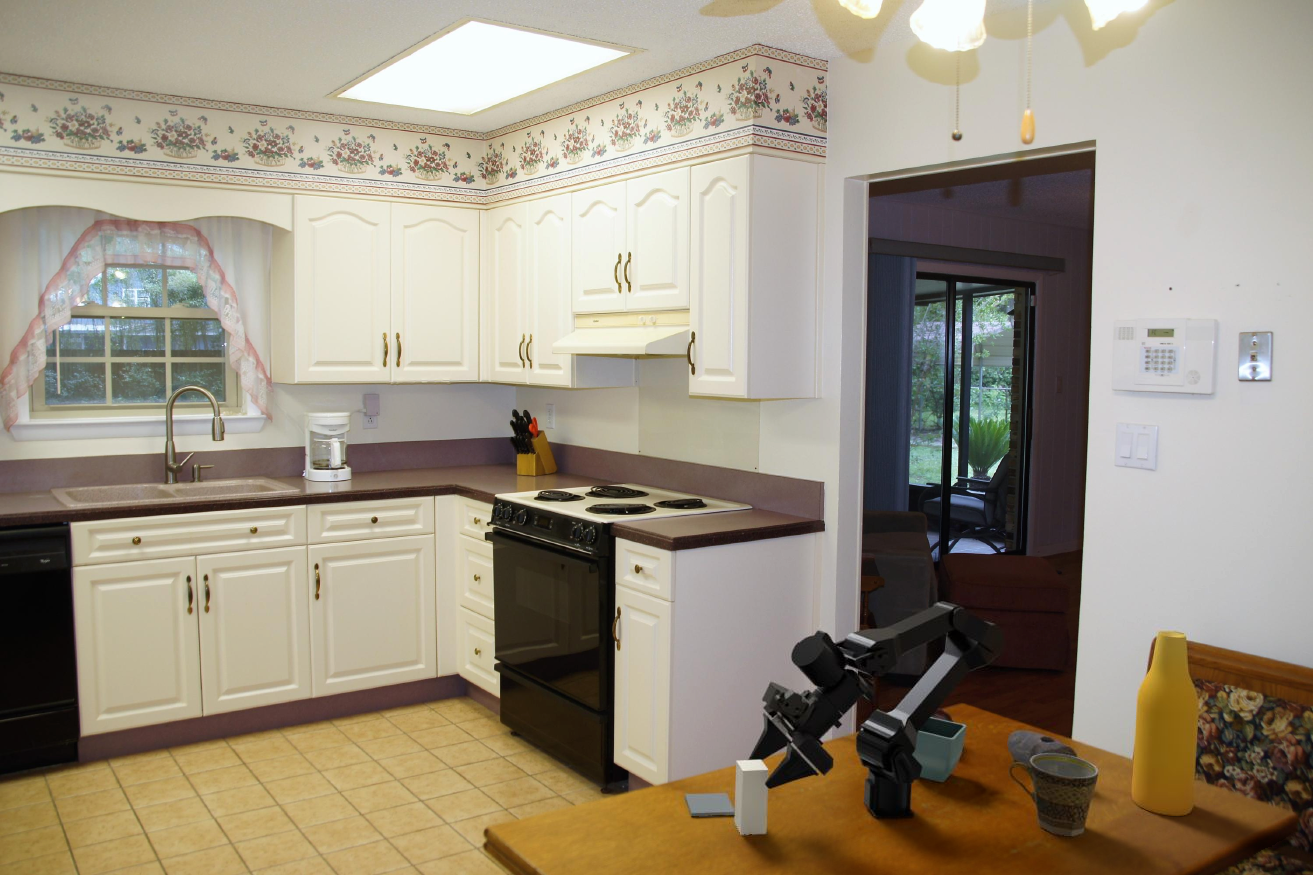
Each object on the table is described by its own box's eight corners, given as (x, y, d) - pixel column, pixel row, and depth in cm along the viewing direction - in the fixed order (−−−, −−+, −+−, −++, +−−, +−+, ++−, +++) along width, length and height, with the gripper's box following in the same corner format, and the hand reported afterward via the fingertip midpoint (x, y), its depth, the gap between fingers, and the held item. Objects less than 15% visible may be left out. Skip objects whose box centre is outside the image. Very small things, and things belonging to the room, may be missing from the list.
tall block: (759, 821, 154) (761, 759, 153) (766, 833, 150) (768, 769, 149) (734, 823, 153) (736, 760, 153) (740, 834, 149) (742, 770, 149)
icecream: (974, 723, 183) (942, 703, 198) (937, 713, 182) (908, 694, 197) (964, 759, 183) (934, 737, 198) (927, 750, 182) (899, 728, 197)
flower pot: (965, 773, 175) (967, 724, 175) (951, 790, 168) (953, 738, 167) (916, 761, 180) (918, 713, 180) (900, 777, 173) (903, 727, 172)
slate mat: (726, 796, 163) (726, 792, 163) (734, 815, 156) (734, 811, 156) (684, 797, 162) (684, 793, 162) (691, 816, 155) (691, 812, 155)
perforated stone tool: (997, 757, 184) (999, 720, 183) (1020, 754, 185) (1022, 718, 185) (1055, 789, 169) (1057, 750, 169) (1079, 785, 171) (1081, 746, 171)
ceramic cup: (1091, 819, 158) (1095, 758, 158) (1098, 846, 149) (1101, 782, 148) (1006, 805, 162) (1009, 746, 162) (1007, 831, 153) (1010, 768, 152)
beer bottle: (1206, 813, 161) (1217, 639, 159) (1161, 819, 158) (1172, 643, 157) (1161, 790, 170) (1171, 625, 168) (1118, 796, 167) (1128, 628, 165)
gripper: (777, 649, 160) (709, 718, 159) (816, 685, 142) (739, 763, 141) (821, 695, 162) (754, 763, 161) (865, 736, 144) (790, 813, 143)
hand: (758, 774), depth 151 cm, fingers open, 9 cm apart
